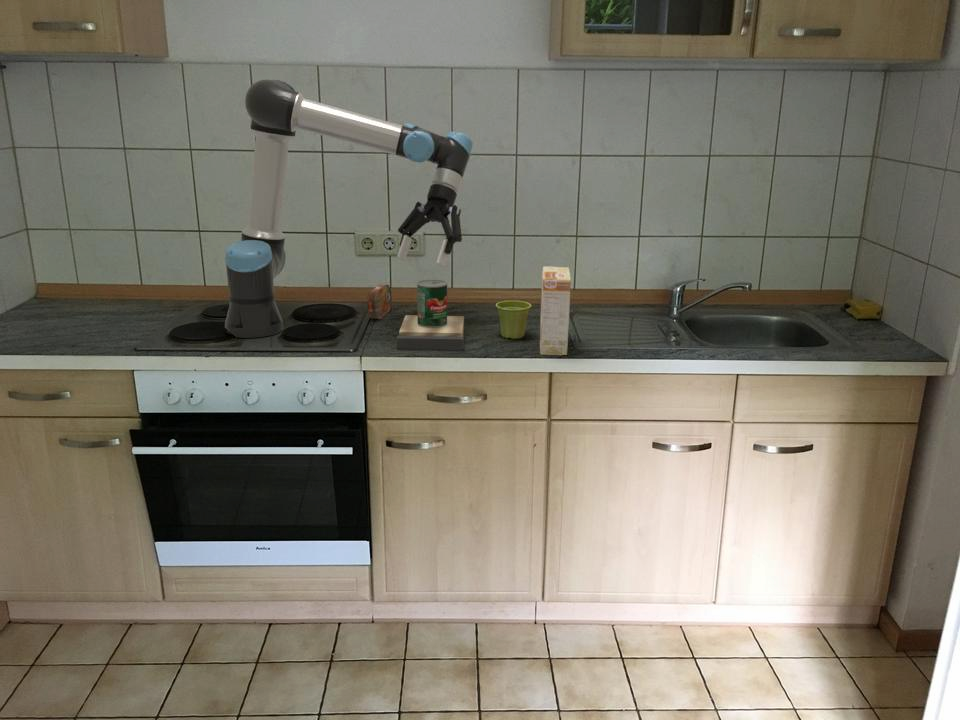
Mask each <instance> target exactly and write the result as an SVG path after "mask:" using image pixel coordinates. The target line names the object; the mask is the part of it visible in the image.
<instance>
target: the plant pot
mask: <svg viewBox="0 0 960 720" xmlns="http://www.w3.org/2000/svg"><path fill="white" fill-rule="evenodd" d="M495 307H496V308H497V312H498V317H499V326H500V335H501V336H502V338H504V337H505V338H504V339H508V338H510V339H512V340H515V339H517V340H518V339H522V338H523V337H525V334H526V327H527V326H526V325H527V320H528V315H529V312H530V309H531V308H532V304H531V303H529V302H527V301H521V300H504V301H499V302H497V303H496V304H495Z"/></svg>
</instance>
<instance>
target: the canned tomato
mask: <svg viewBox="0 0 960 720" xmlns="http://www.w3.org/2000/svg"><path fill="white" fill-rule="evenodd" d="M416 286H417V287H416V290H417V291H416V292H417V293H416V294H417V299H416V300H417V301H416V302H417V308H416V309H417V311H416V312H417V314H416V315H418V316H417V317H418V322H417V324H418V325H419V326H421V327H426V328H438V327H443V326H446V325H447V316H448V282H447V281H446V280H441V279H423V280H420V281H417V282H416Z"/></svg>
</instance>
